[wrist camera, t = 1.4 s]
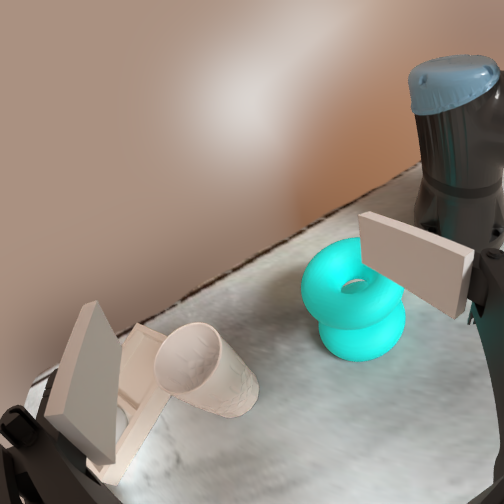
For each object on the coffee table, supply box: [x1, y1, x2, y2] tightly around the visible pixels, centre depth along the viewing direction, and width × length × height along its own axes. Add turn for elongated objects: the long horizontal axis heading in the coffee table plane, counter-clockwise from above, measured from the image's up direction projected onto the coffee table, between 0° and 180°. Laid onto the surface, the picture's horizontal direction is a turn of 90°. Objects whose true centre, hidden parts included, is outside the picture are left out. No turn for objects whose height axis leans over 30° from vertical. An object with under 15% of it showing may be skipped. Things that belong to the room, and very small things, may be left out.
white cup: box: [153, 322, 259, 418], centre depth 28 cm, size 8×8×10 cm
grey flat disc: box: [116, 407, 129, 444], centre depth 31 cm, size 9×9×1 cm
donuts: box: [301, 237, 405, 362], centre depth 27 cm, size 10×10×10 cm
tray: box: [86, 323, 171, 486], centre depth 34 cm, size 24×12×3 cm, turn 152°
